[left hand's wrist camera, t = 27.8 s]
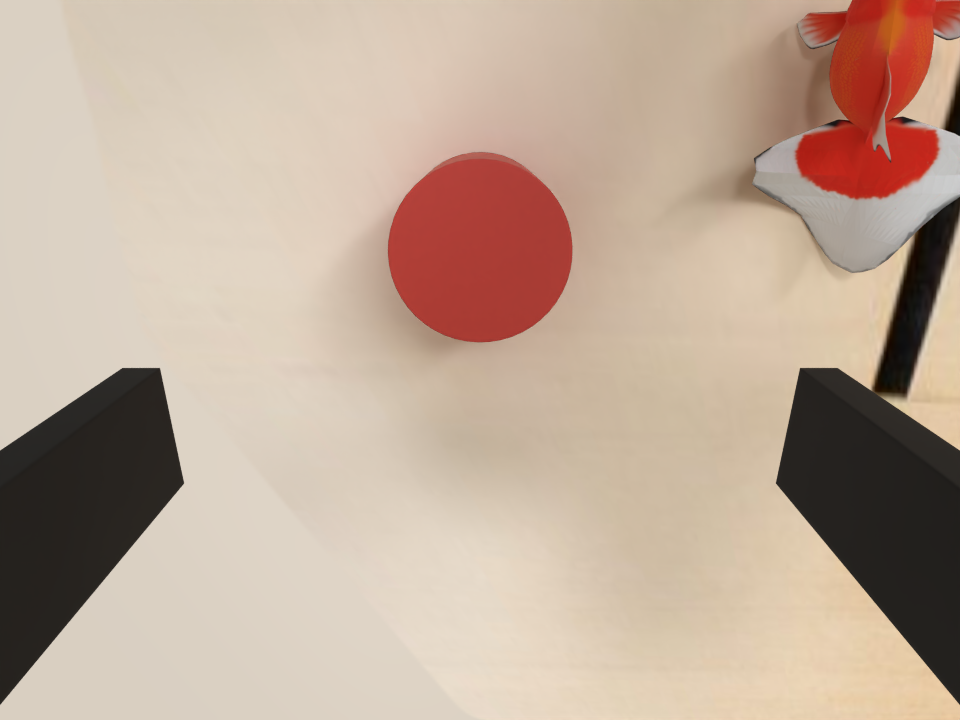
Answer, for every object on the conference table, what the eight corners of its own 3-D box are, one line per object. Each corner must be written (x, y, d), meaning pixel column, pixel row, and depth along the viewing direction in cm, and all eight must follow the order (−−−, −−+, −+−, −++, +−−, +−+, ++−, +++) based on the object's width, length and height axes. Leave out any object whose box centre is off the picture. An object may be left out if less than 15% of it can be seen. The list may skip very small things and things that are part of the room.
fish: (1095, -55, 27) (1181, 3, 20) (894, 236, 38) (907, 333, 32) (844, -94, 29) (848, -54, 23) (724, 191, 40) (704, 273, 34)
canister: (404, 149, 35) (385, 155, 28) (560, 154, 35) (580, 161, 28) (406, 301, 38) (390, 340, 31) (549, 305, 38) (565, 344, 31)
